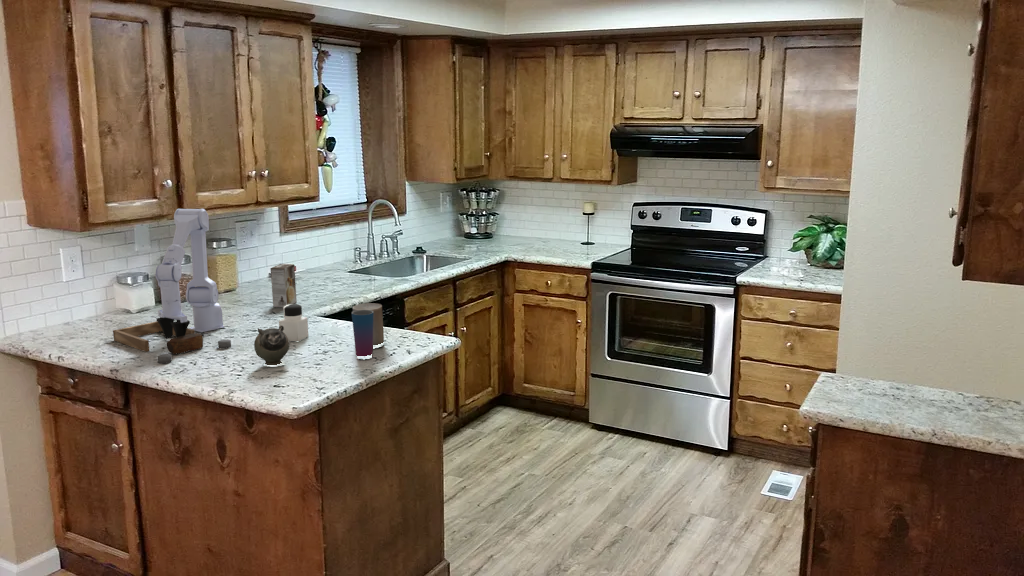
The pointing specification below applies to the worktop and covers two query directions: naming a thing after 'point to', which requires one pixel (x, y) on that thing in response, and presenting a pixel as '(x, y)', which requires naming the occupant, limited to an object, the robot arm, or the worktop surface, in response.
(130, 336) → the wooden frame
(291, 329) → the medicine bottle
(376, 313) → the pillar candle
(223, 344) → the puck right
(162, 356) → the puck left
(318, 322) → the worktop surface
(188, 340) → the brick
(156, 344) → the worktop surface
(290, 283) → the coffee box
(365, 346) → the cup
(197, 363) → the worktop surface
